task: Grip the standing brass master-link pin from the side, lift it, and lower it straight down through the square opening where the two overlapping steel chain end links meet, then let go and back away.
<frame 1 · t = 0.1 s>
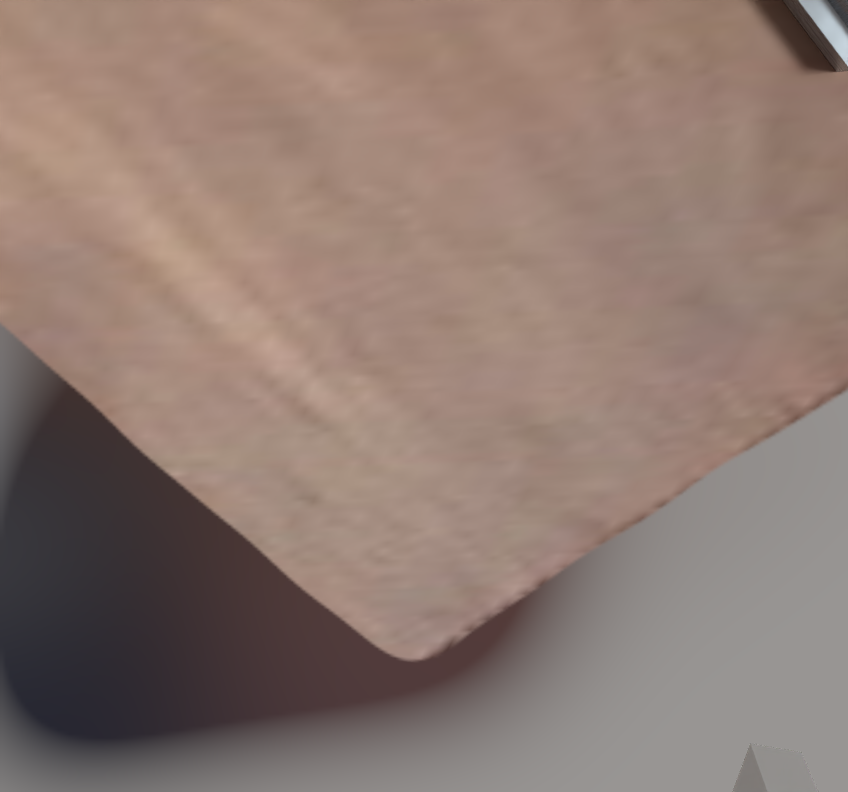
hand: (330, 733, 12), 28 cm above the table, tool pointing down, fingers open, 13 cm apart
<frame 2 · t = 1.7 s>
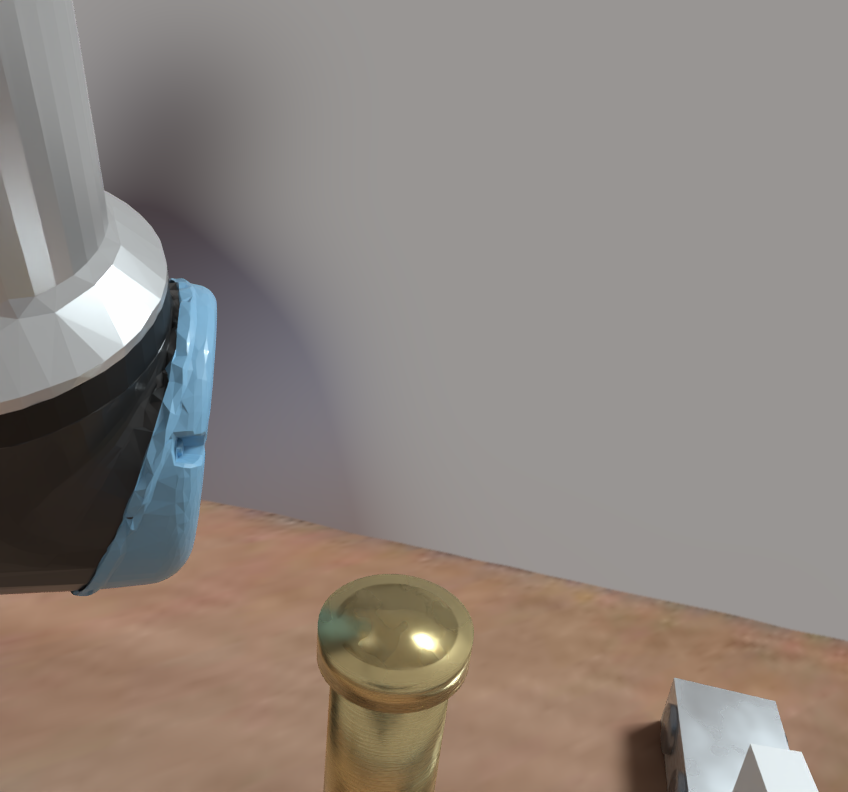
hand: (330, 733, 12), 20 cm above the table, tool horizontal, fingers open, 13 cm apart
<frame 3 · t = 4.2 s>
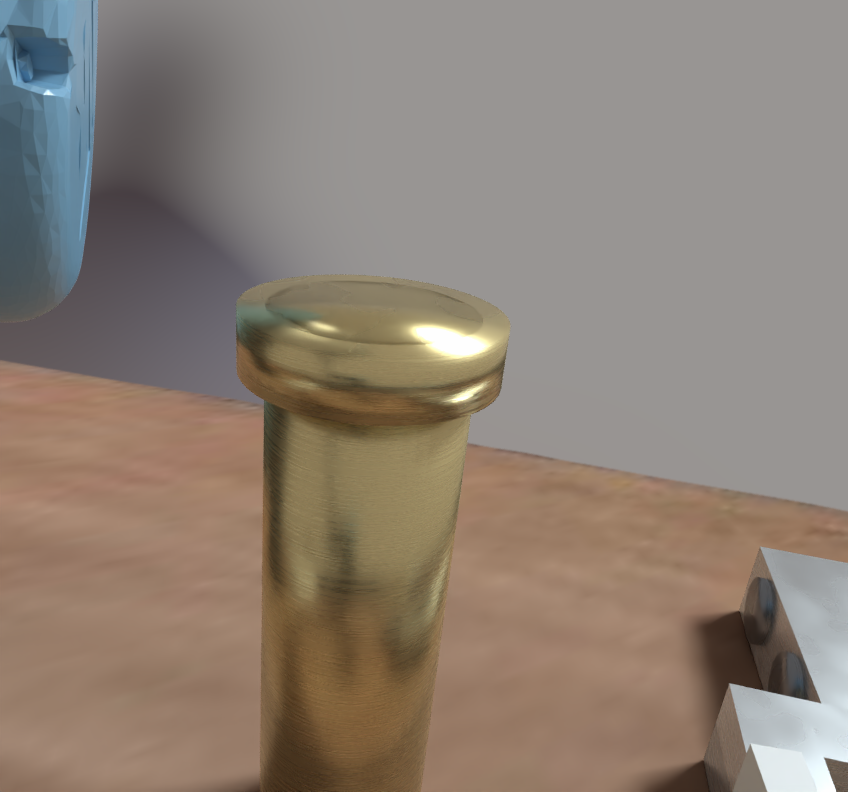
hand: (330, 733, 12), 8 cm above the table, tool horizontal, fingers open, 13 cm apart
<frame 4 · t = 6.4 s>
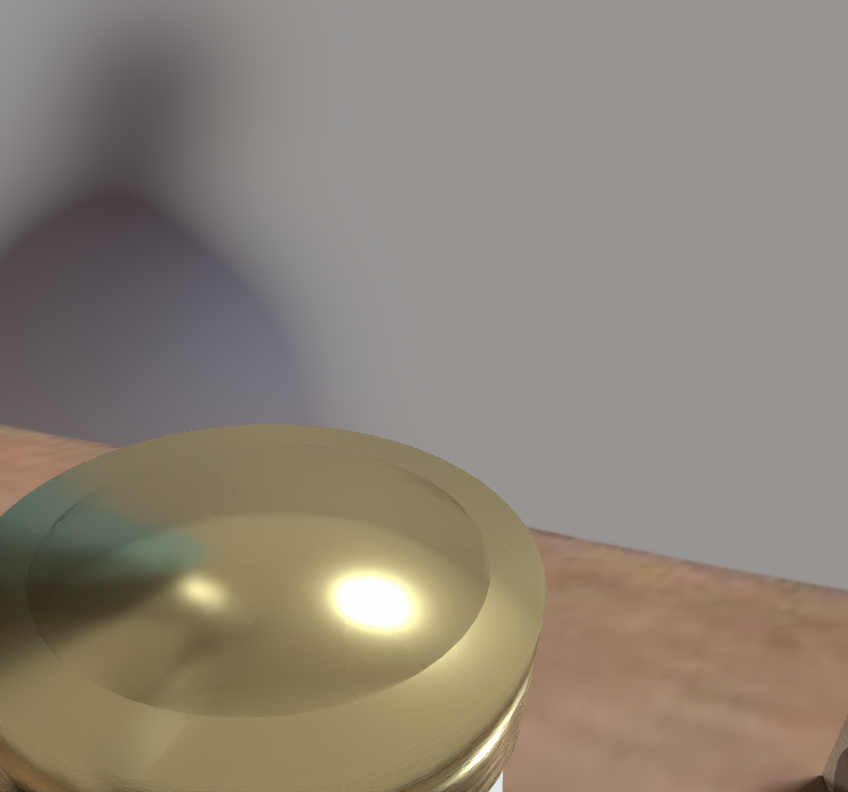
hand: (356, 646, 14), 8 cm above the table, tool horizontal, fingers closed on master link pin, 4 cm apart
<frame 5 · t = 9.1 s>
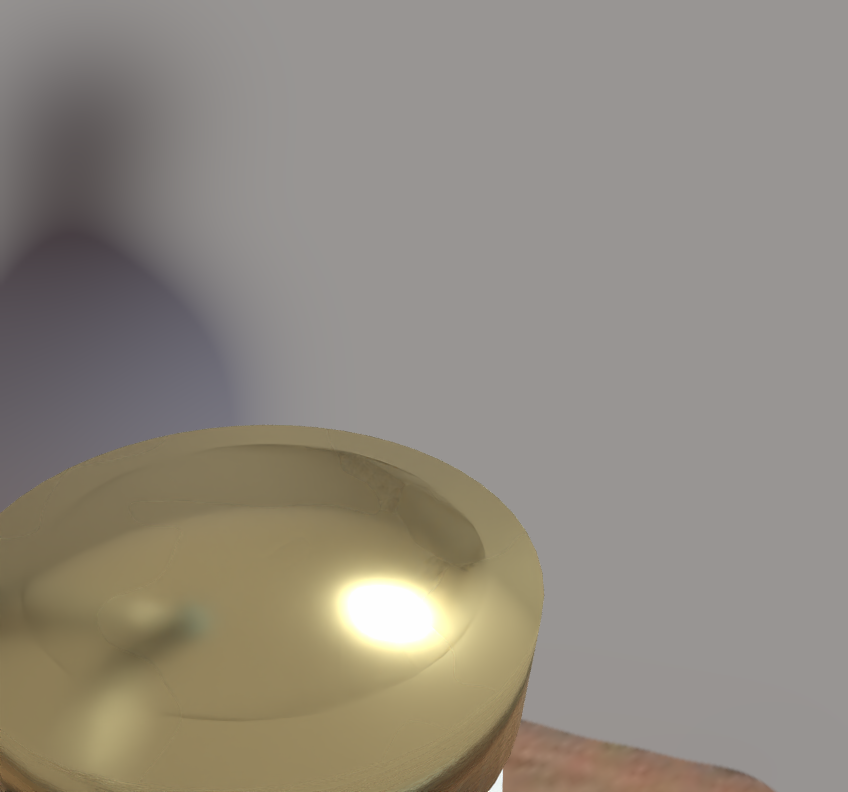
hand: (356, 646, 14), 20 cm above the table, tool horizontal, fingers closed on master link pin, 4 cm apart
when the fingers open (9 cm above the table, at t = 12.2 s): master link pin stays where it is, resting in chain ends.
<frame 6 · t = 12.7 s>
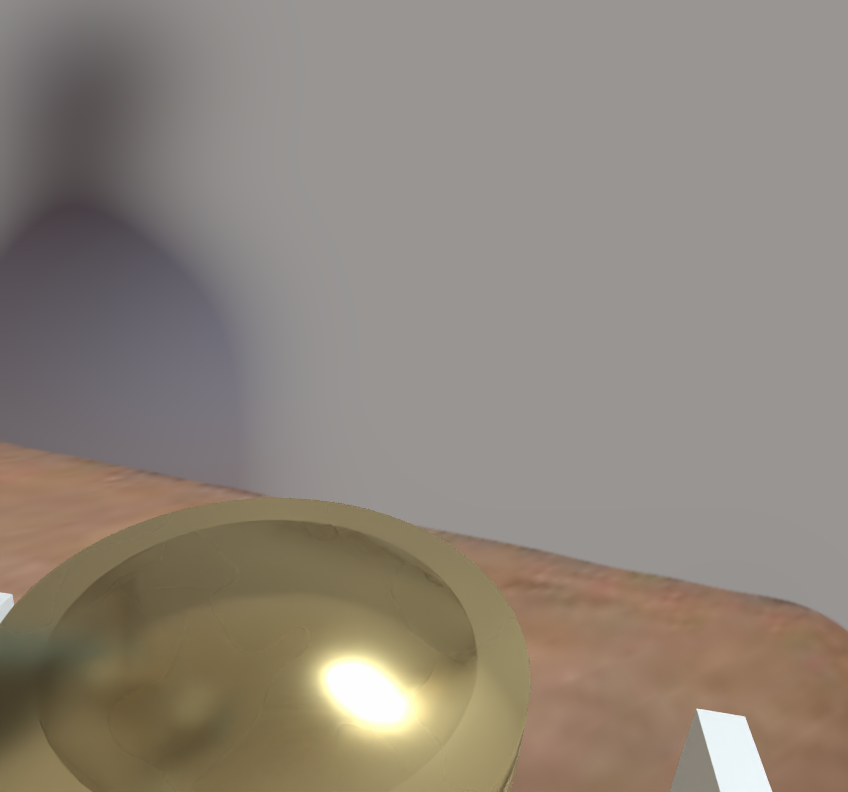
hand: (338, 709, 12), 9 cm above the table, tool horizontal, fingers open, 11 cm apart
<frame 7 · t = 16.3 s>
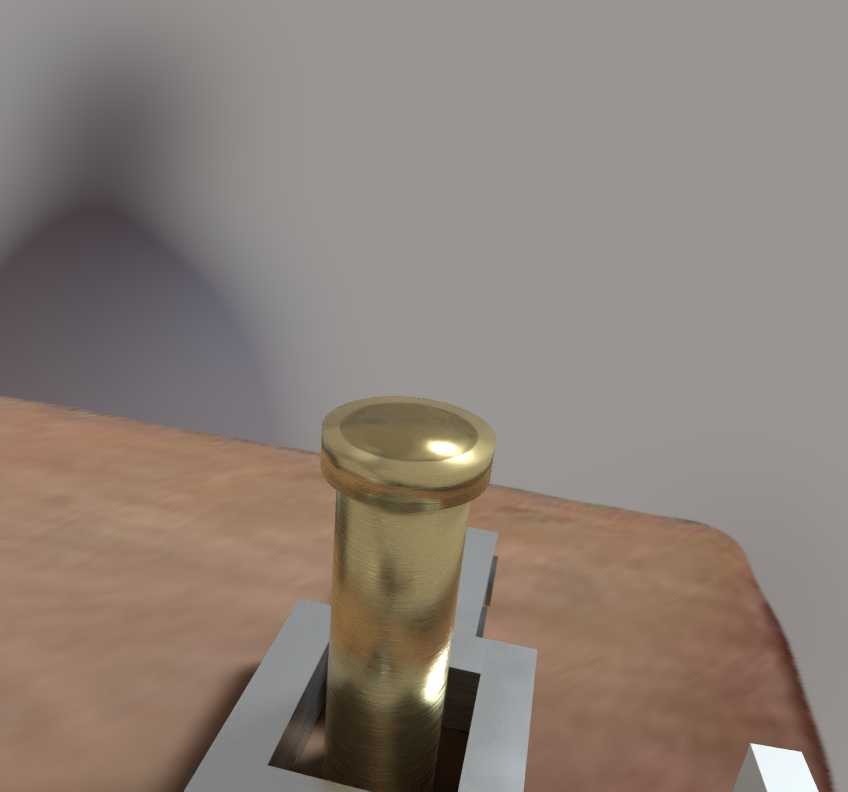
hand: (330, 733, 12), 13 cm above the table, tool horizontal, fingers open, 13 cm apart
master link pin: (378, 780, 26), resting in chain ends
chain ends: (378, 778, 26), on the table
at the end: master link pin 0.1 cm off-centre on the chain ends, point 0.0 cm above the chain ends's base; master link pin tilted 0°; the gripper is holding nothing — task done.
